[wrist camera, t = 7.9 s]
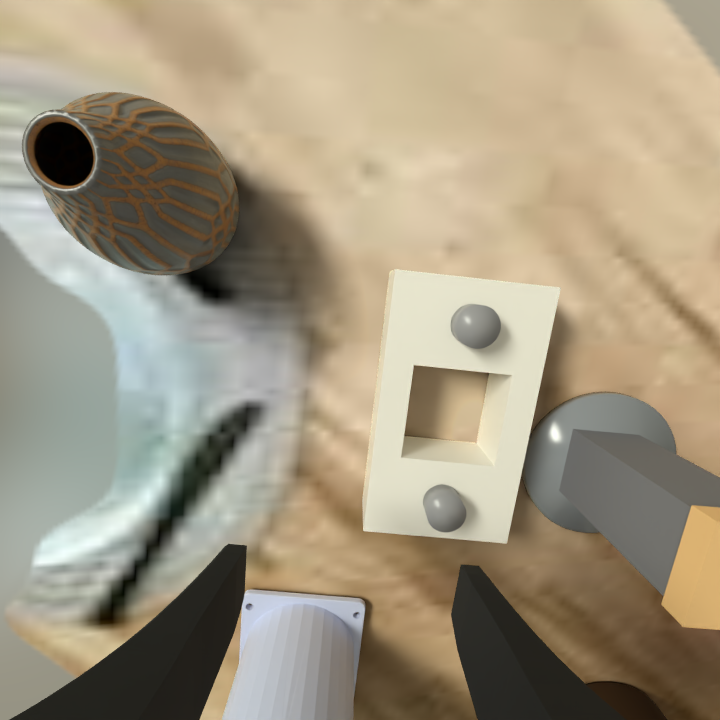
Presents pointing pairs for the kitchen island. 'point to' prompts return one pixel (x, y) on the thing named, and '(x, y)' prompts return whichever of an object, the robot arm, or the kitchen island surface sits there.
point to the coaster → (554, 441)
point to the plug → (652, 516)
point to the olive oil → (627, 701)
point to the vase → (134, 182)
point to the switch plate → (499, 415)
